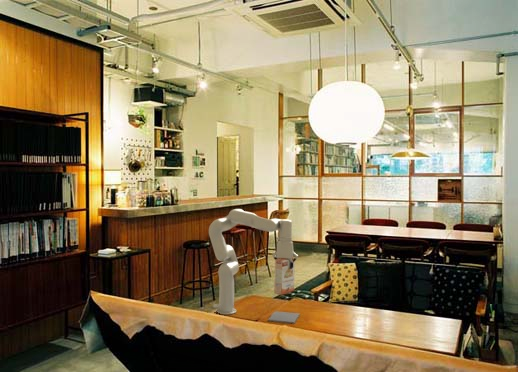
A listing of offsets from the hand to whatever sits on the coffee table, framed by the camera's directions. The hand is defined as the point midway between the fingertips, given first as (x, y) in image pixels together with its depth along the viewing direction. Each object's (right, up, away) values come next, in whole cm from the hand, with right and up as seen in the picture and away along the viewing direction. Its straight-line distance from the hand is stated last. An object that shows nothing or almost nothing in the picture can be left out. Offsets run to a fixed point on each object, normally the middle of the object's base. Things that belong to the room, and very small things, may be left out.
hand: (284, 268), depth 268 cm
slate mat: (0, -31, 0) cm, 31 cm away
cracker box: (0, -15, 0) cm, 15 cm away
